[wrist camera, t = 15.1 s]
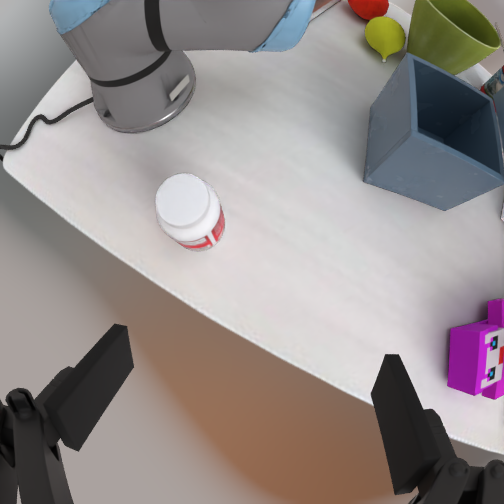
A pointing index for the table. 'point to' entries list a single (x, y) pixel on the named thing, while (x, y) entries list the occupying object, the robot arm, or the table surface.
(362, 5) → the apple
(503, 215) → the tissue box
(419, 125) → the blue-grey hollow box
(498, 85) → the wall hook
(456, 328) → the toy
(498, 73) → the beverage can
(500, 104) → the lid
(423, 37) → the flower pot
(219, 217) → the pill bottle
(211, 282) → the table surface
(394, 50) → the yellow-green teardrop shape
